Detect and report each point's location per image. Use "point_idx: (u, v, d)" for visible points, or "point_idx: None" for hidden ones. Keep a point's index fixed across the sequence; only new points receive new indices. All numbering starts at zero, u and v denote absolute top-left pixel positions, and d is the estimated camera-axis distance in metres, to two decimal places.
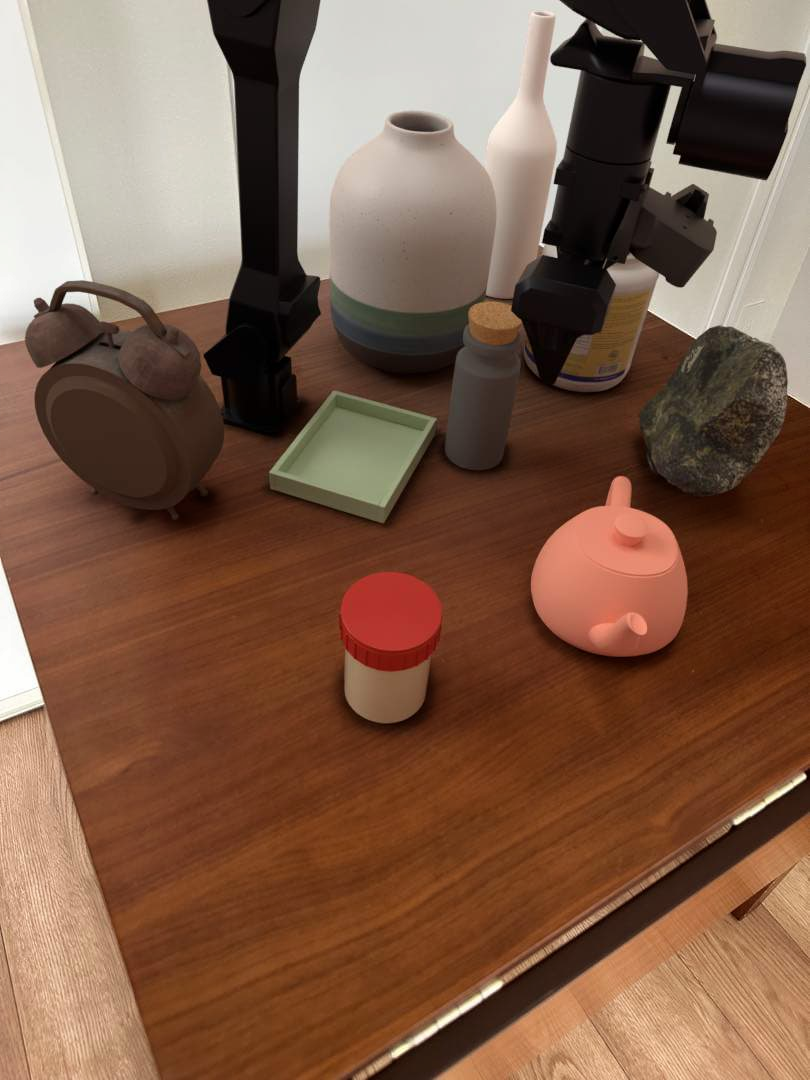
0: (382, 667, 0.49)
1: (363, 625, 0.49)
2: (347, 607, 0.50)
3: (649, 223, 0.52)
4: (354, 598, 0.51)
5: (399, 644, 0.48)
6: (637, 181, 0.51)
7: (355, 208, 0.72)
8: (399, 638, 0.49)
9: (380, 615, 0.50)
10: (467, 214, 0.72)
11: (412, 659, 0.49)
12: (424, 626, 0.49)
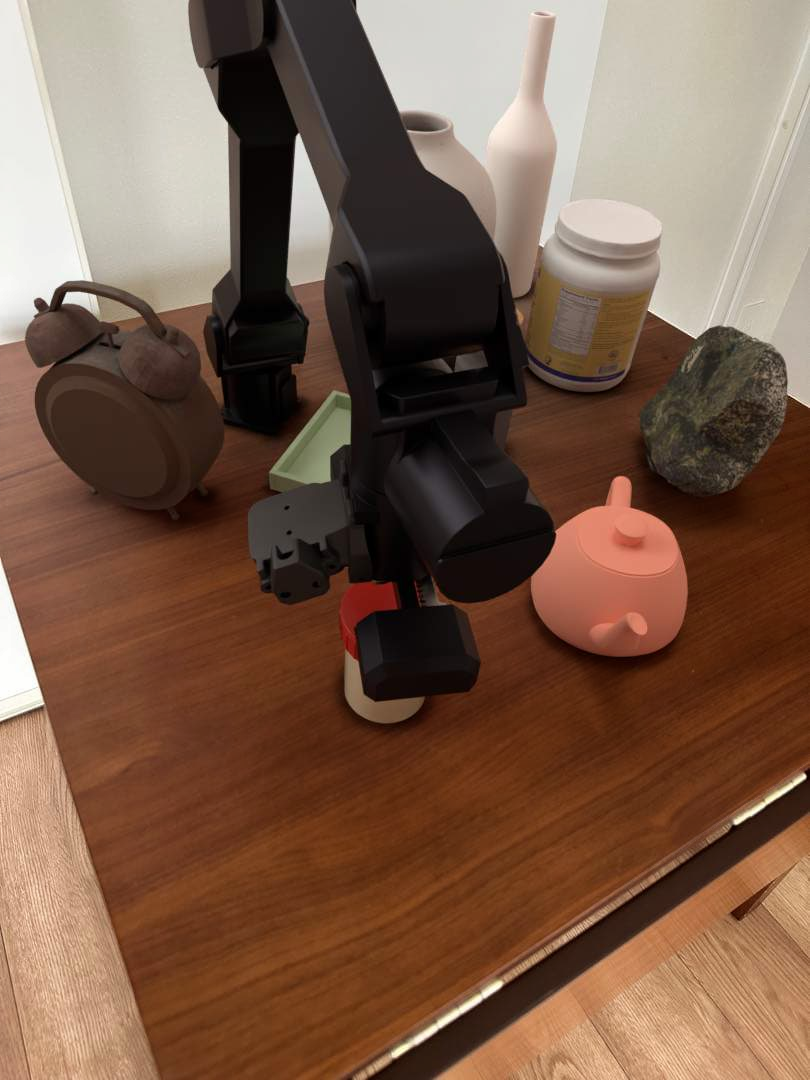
0: None
1: None
2: (347, 607, 0.50)
3: None
4: (354, 598, 0.51)
5: None
6: None
7: None
8: None
9: None
10: None
11: None
12: None
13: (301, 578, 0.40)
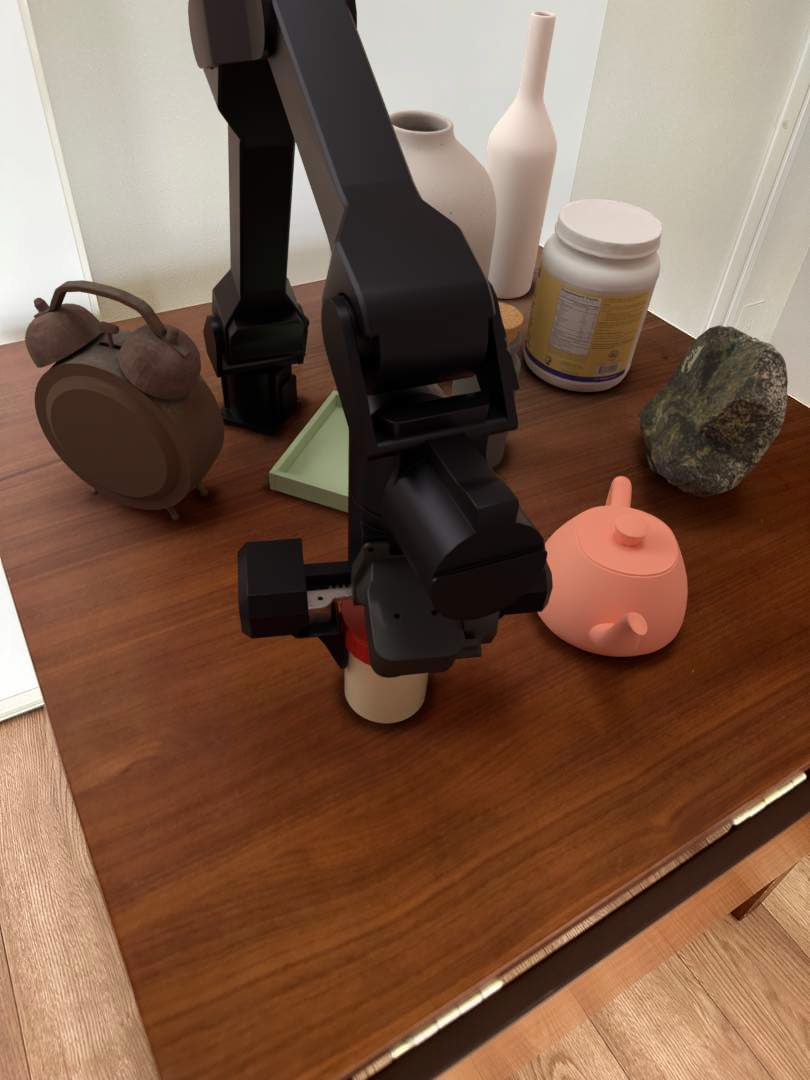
0: None
1: None
2: None
3: (367, 582, 0.42)
4: None
5: None
6: (370, 531, 0.41)
7: None
8: None
9: None
10: (467, 214, 0.72)
11: None
12: None
13: None
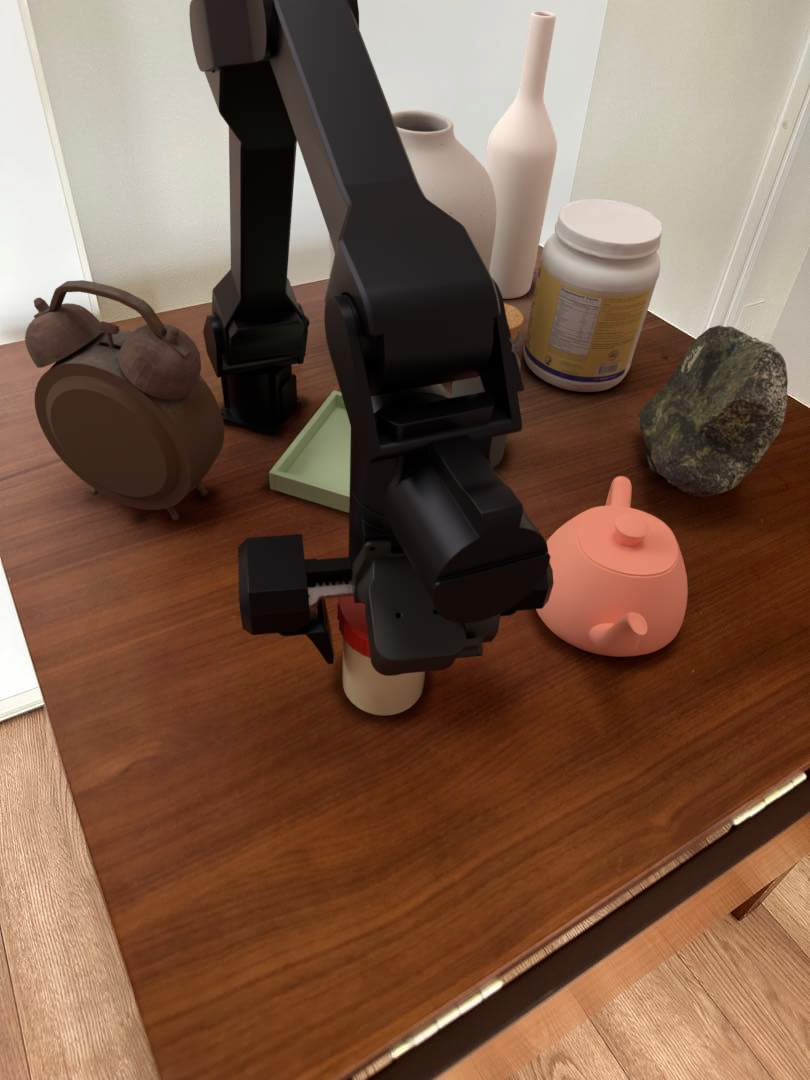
0: None
1: None
2: None
3: (368, 580, 0.42)
4: None
5: None
6: (372, 530, 0.41)
7: None
8: None
9: None
10: (467, 214, 0.72)
11: None
12: None
13: None
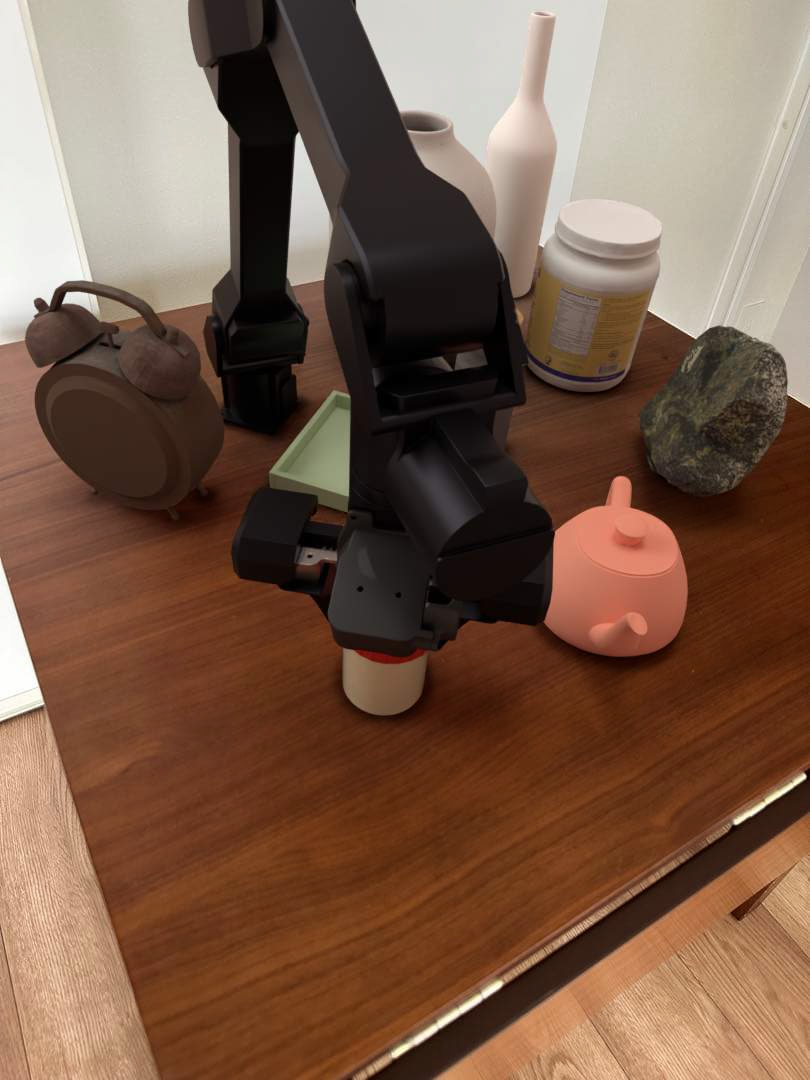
0: None
1: None
2: None
3: (345, 549, 0.41)
4: None
5: None
6: (357, 500, 0.41)
7: None
8: None
9: None
10: None
11: None
12: None
13: None
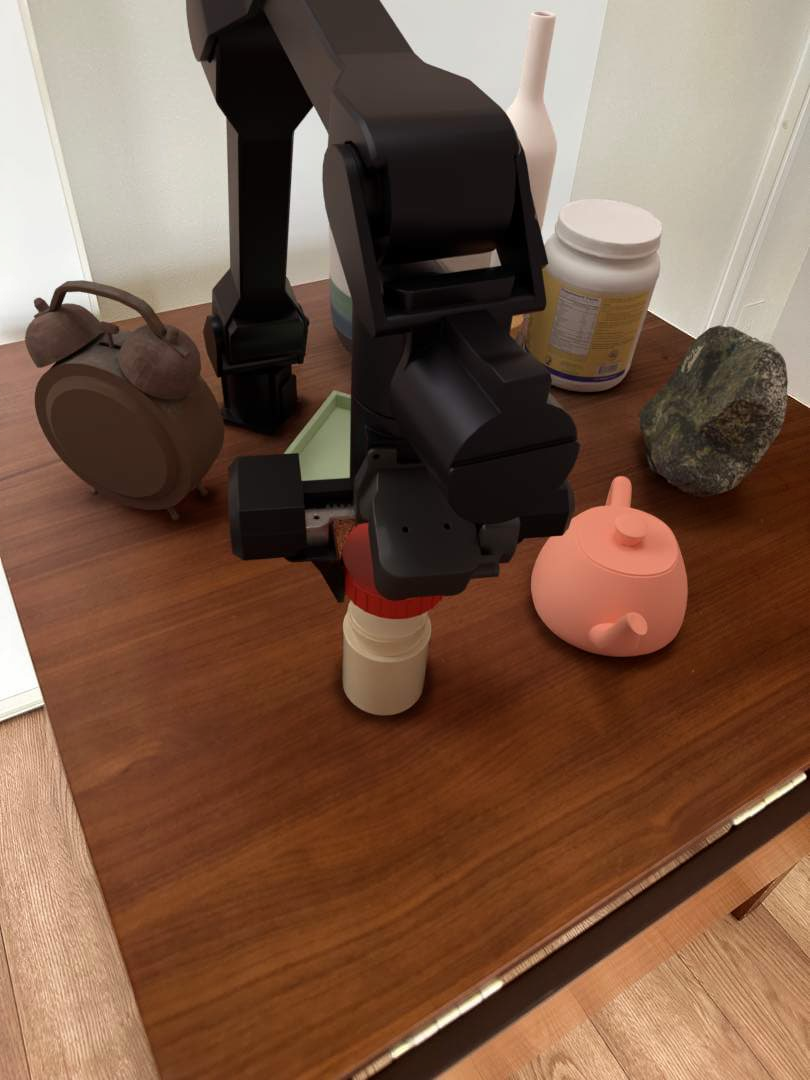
0: None
1: None
2: None
3: (372, 493, 0.37)
4: None
5: None
6: (376, 436, 0.37)
7: None
8: None
9: None
10: None
11: None
12: (363, 535, 0.48)
13: None
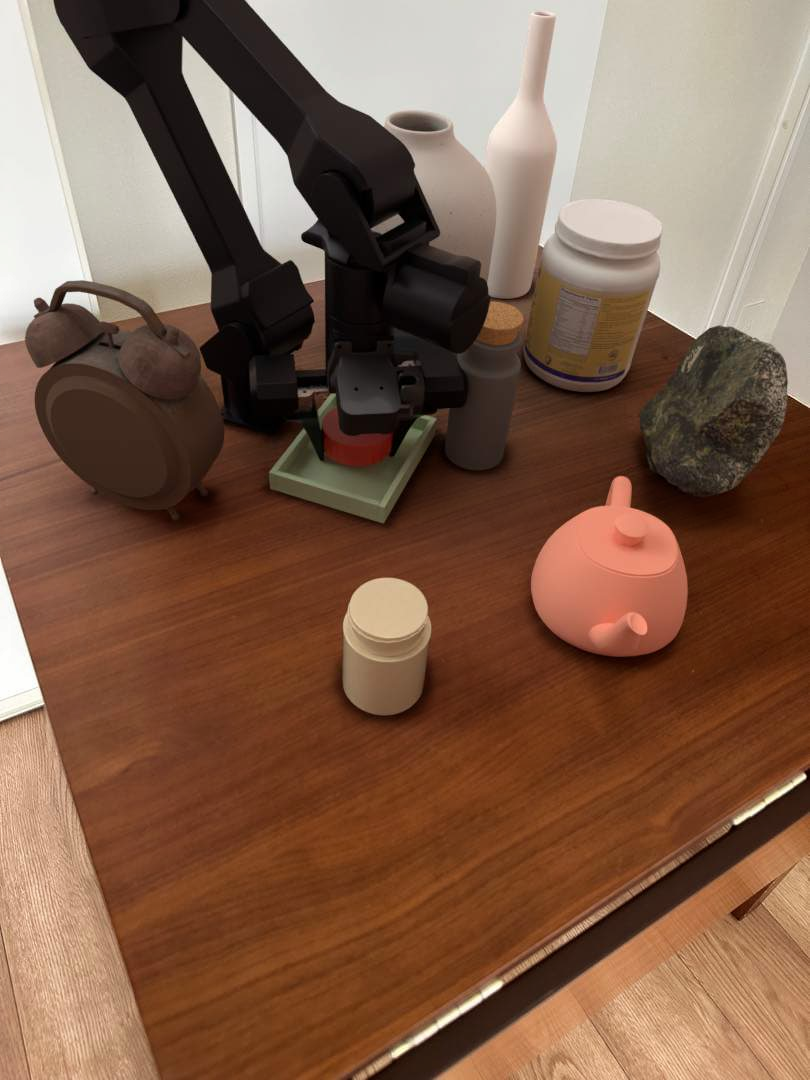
0: None
1: None
2: None
3: (337, 370, 0.62)
4: None
5: None
6: (339, 334, 0.62)
7: None
8: None
9: None
10: (467, 214, 0.72)
11: None
12: (336, 414, 0.72)
13: None
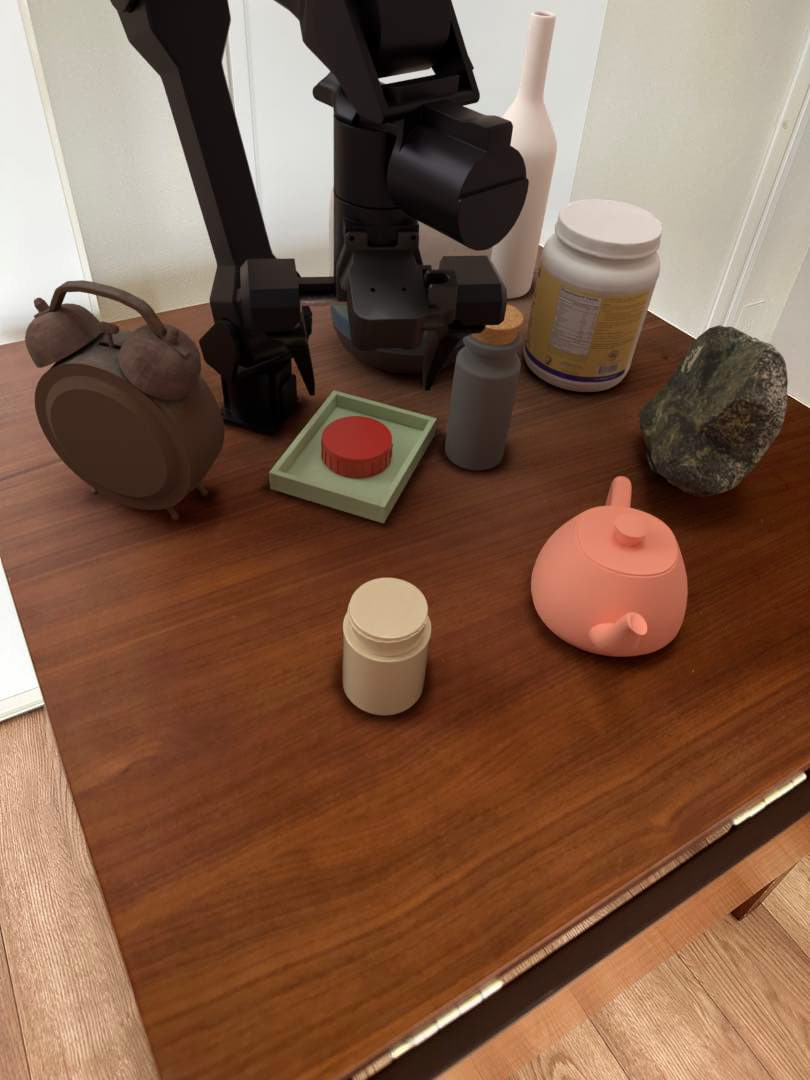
0: None
1: (377, 429, 0.74)
2: (387, 439, 0.73)
3: (349, 268, 0.50)
4: (382, 444, 0.72)
5: (354, 418, 0.74)
6: (351, 223, 0.50)
7: None
8: (353, 421, 0.74)
9: (365, 434, 0.73)
10: None
11: None
12: (336, 426, 0.73)
13: None
